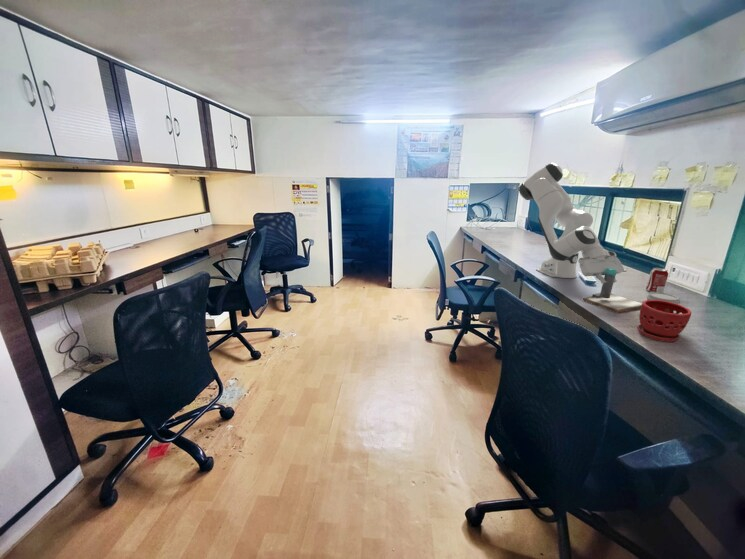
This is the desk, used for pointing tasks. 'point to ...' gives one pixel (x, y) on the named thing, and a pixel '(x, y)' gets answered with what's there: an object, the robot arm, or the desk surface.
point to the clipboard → (613, 303)
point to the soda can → (657, 280)
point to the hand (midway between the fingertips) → (609, 282)
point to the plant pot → (662, 320)
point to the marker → (608, 283)
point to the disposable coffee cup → (662, 298)
